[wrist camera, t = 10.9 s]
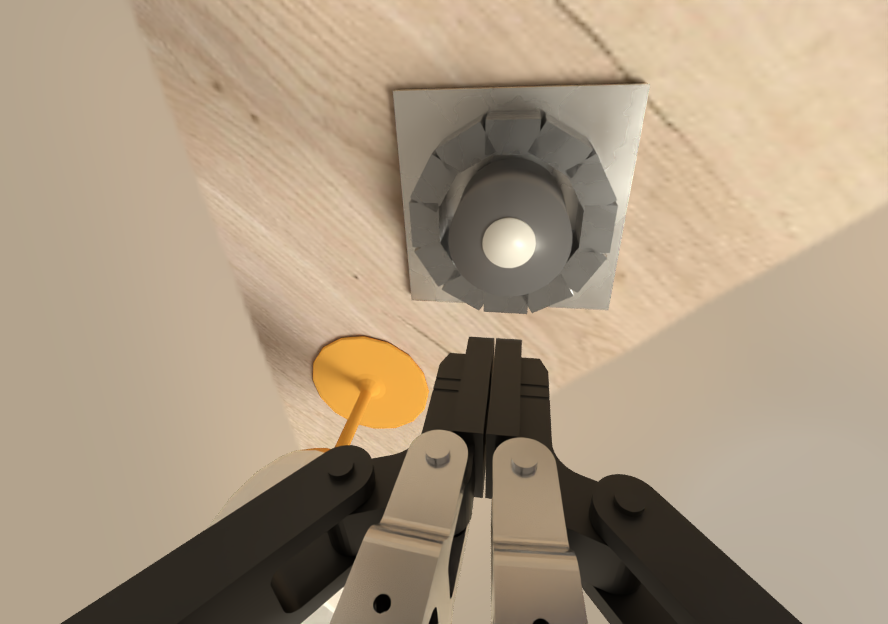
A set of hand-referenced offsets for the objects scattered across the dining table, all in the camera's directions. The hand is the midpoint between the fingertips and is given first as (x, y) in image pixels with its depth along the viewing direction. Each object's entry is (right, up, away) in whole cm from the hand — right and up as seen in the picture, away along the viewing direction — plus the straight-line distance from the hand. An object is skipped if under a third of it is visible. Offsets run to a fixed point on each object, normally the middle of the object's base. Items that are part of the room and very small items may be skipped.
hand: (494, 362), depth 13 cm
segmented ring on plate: (+2, +7, +12) cm, 14 cm away
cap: (+2, +7, +11) cm, 13 cm away
